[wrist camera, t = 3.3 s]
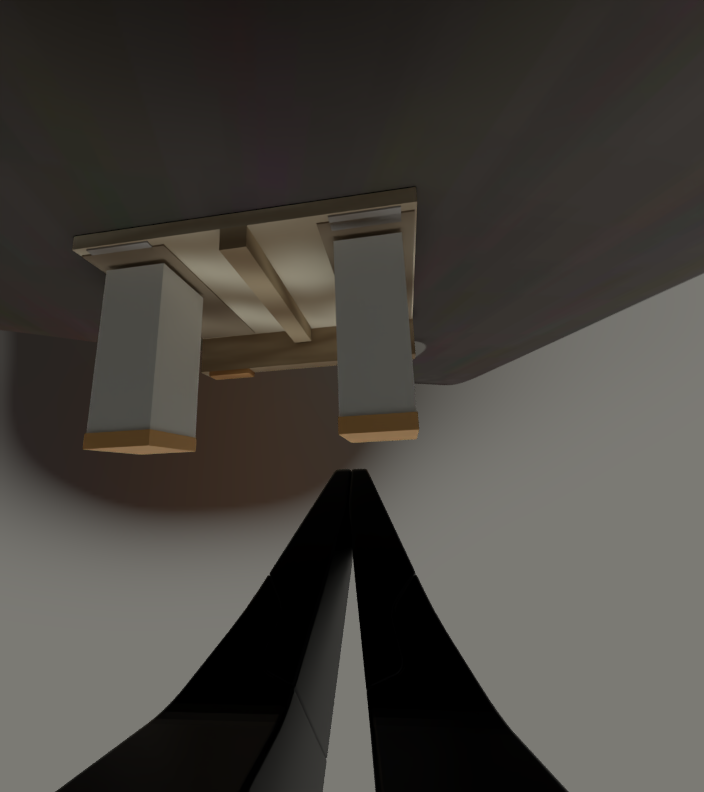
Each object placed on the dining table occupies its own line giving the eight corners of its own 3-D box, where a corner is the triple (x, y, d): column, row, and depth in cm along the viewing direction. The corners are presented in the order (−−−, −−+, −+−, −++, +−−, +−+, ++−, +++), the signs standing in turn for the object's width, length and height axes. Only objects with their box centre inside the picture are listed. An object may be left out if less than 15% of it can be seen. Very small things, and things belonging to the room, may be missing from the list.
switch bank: (73, 236, 19) (63, 308, 18) (415, 186, 17) (423, 267, 16) (210, 335, 33) (208, 380, 32) (411, 315, 31) (415, 363, 30)
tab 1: (105, 270, 20) (82, 449, 18) (164, 262, 20) (148, 445, 18) (154, 304, 24) (140, 454, 22) (204, 298, 24) (195, 451, 22)
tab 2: (332, 240, 19) (338, 434, 16) (402, 231, 18) (419, 429, 16) (345, 282, 23) (351, 442, 20) (403, 275, 22) (416, 439, 20)
